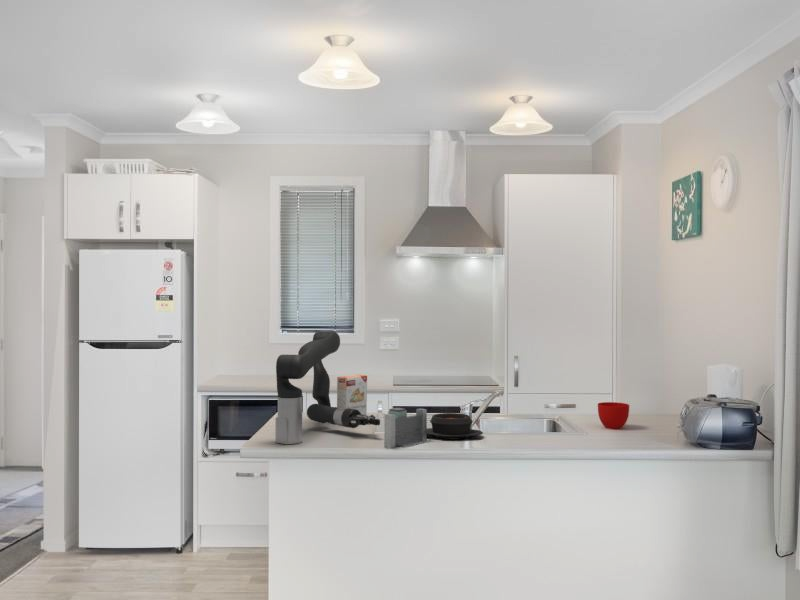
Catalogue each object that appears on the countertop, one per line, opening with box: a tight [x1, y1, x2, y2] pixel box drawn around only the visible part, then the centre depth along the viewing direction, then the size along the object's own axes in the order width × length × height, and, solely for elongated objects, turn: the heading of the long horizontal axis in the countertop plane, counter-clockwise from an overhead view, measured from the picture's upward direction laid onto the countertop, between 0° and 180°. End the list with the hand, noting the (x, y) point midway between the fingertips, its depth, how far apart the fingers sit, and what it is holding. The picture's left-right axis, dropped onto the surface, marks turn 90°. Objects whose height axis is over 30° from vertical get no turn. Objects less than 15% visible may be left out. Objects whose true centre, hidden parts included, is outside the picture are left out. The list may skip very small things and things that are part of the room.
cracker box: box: [336, 374, 368, 415], centre depth 332 cm, size 14×6×21 cm, turn 143°
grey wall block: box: [383, 408, 429, 449], centre depth 286 cm, size 21×6×12 cm, turn 139°
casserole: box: [427, 412, 484, 440], centre depth 302 cm, size 25×19×8 cm
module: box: [387, 407, 408, 419], centre depth 290 cm, size 5×5×13 cm
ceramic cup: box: [597, 401, 630, 430], centre depth 326 cm, size 13×17×10 cm
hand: (378, 422), depth 296 cm, fingers closed
